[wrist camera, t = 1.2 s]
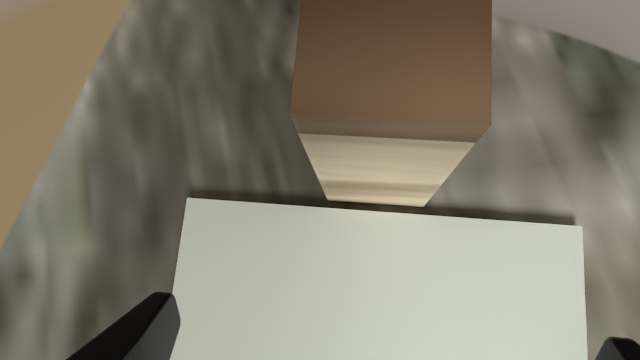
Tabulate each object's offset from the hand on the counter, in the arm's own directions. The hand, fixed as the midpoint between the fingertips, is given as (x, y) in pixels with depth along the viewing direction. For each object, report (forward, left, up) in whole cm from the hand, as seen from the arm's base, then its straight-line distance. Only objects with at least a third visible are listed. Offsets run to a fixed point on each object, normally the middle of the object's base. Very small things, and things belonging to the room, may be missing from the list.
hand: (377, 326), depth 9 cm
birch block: (+8, 0, -13) cm, 15 cm away
